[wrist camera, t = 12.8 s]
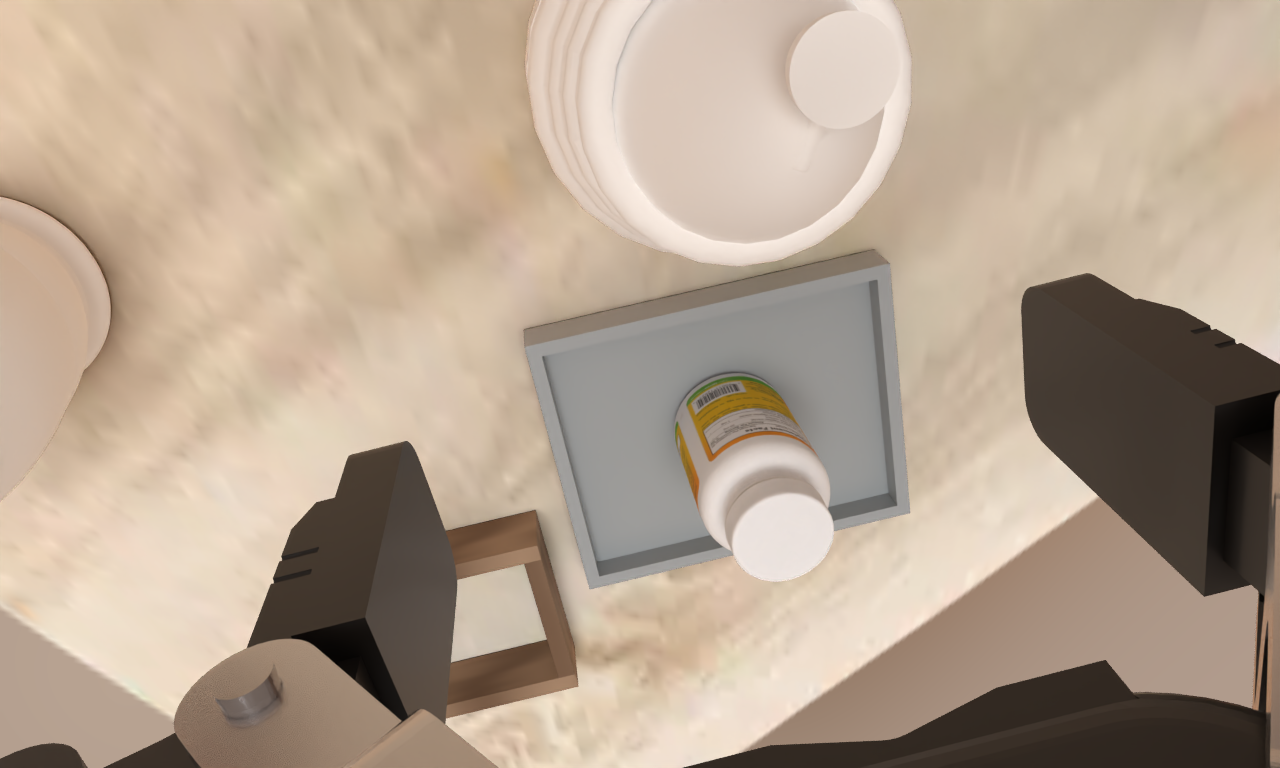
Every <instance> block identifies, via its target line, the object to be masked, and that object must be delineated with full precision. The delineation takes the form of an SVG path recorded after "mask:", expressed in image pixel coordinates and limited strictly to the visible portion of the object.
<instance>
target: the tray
mask: <svg viewBox="0 0 1280 768" xmlns="http://www.w3.org/2000/svg"><path fill="white" fill-rule="evenodd" d="M524 346H525V351H526V354H527V358H528V362H529V365H530V369H531V373H532V377H533V380H534V384H535V388H536V391H537V395H538V399H539V403H540V406H541V410H542V414H543V417H544V421H545V425H546V429H547V432H548V436H549V440H550V444H551V447H552V451H553V455H554V458H555V462H556V466H557V470H558V473H559V477H560V481H561V484H562V488H563V492H564V496H565V499H566V503H567V507H568V510H569V514H570V518H571V522H572V525H573V529H574V533H575V536H576V540H577V544H578V548H579V551H580V555H581V559H582V563H583V566H584V570H585V574H586V577H587V581H588V585H589V589H594V588H598V587H602V586H606V585H610V584H615V583H619V582H623V581H627V580H631V579H636V578H640V577H644V576H648V575H652V574H656V573H661V572H665V571H669V570H673V569H677V568H682V567H686V566H690V565H694V564H698V563H703V562H707V561H711V560H715V559H719V558H724V557H728V556H732V555H733V553H732V551H730V550H728V549H726V548H725V547H723V546H722V545H720V544H719V543H718V542H717V541H716V540H714V538H713V537H712V536H711V535H710V533H709V532H708V530H707V529H706V527H705V525H704V523H703V520H702V518H701V516H700V513H699V511H698V508H697V505H696V502H695V499H694V496H693V493H692V490H691V487H690V484H689V481H688V478H687V475H686V472H685V469H684V466H683V463H682V461H681V458H680V455H679V452H678V449H677V446H676V442H675V437H674V424H675V418H676V415H677V412H678V409H679V407H680V405H681V403H682V402H683V400H684V399H685V398H686V396H687V395H688V394H689V393H690V392H691V391H692V390H693V389H694V388H695V387H697V386H698V385H699V384H701V383H703V382H704V381H706V380H708V379H710V378H713V377H716V376H719V375H723V374H731V373H742V374H748V375H752V376H755V377H758V378H760V379H762V380H764V381H765V382H767V383H768V384H770V385H771V386H772V387H773V388H774V389H775V390H776V391H777V392H778V393H779V395H780V396H781V398H782V399H783V400H784V402H785V403H786V405H787V407H788V408H789V410H790V412H791V413H792V415H793V417H794V418H795V420H796V422H797V423H798V425H799V426H800V428H801V430H802V431H803V433H804V435H805V436H806V438H807V440H808V441H809V443H810V445H811V446H812V448H813V449H814V451H815V452H816V454H817V456H818V457H819V459H820V461H821V462H822V464H823V466H824V468H825V470H826V472H827V475H828V478H829V483H830V502H829V506H828V510H829V512H830V514H831V516H832V519H833V524H834V531H837V530H841V529H845V528H850V527H854V526H858V525H862V524H866V523H871V522H875V521H879V520H883V519H887V518H892V517H896V516H900V515H904V514H908V513H910V504H909V492H908V480H907V468H906V455H905V443H904V431H903V419H902V406H901V394H900V382H899V370H898V358H897V345H896V333H895V321H894V309H893V296H892V284H891V272H890V263H889V262H888V261H886V260H885V259H884V258H883V257H882V256H880V255H879V254H878V253H877V252H876V251H875V250H870V251H866V252H862V253H857V254H853V255H849V256H844V257H840V258H835V259H831V260H827V261H822V262H818V263H814V264H809V265H805V266H800V267H796V268H792V269H787V270H783V271H779V272H774V273H770V274H765V275H761V276H757V277H752V278H748V279H744V280H739V281H735V282H730V283H726V284H722V285H717V286H713V287H709V288H704V289H700V290H695V291H691V292H687V293H682V294H678V295H674V296H669V297H665V298H660V299H656V300H652V301H647V302H643V303H639V304H634V305H630V306H625V307H621V308H617V309H612V310H608V311H604V312H599V313H595V314H590V315H586V316H582V317H577V318H573V319H569V320H564V321H560V322H556V323H551V324H547V325H542V326H538V327H534V328H529V329H525V330H524Z"/></svg>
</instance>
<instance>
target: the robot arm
mask: <svg viewBox="0 0 1280 768" xmlns="http://www.w3.org/2000/svg"><path fill="white" fill-rule="evenodd" d="M1021 314H1022V337H1023V361H1024V384H1025V401H1026V407H1027V411H1028V414H1029V418H1030V421H1031V423H1032V426H1033V428H1034V430H1035V432H1036V433H1037V435H1038V437H1039V438H1040V440H1041V441H1042V442H1043V443H1044V444H1045V445H1046V446H1047V447H1048V448H1049V449H1050V450H1051V451H1052V452H1053V453H1054V454H1055V455H1056V456H1057V457H1058V458H1059V459H1060V460H1061V461H1063V462H1064V463H1065V464H1066V465H1067V466H1068V467H1069V468H1070V469H1071V470H1072V471H1073V472H1074V473H1075V474H1076V475H1077V476H1078V477H1079V478H1080V479H1081V480H1082V481H1083V482H1085V483H1086V484H1087V485H1088V486H1089V487H1090V488H1091V489H1092V490H1093V491H1094V492H1095V493H1096V494H1097V495H1098V496H1099V497H1100V498H1101V499H1102V500H1103V501H1104V502H1106V503H1107V504H1108V505H1109V506H1110V507H1111V508H1112V509H1113V510H1114V511H1115V512H1116V513H1117V514H1118V515H1119V516H1120V517H1121V518H1122V519H1123V520H1124V521H1125V522H1126V523H1127V524H1129V525H1130V526H1131V527H1132V528H1133V529H1134V530H1135V531H1136V532H1137V533H1138V534H1139V535H1140V536H1141V537H1142V538H1143V539H1144V540H1145V541H1146V542H1147V543H1148V544H1149V545H1151V546H1152V547H1153V548H1154V549H1155V550H1156V551H1157V552H1158V553H1159V554H1160V555H1161V556H1162V557H1163V558H1164V559H1165V560H1166V561H1167V562H1168V563H1169V564H1170V565H1172V566H1173V567H1174V568H1175V569H1176V570H1177V571H1178V572H1179V573H1180V574H1181V575H1182V576H1183V577H1184V578H1185V579H1186V580H1187V581H1189V583H1190V584H1191V585H1192V586H1193V587H1195V588H1196V589H1197V590H1198V591H1199V592H1200V593H1201V594H1202V595H1203V596H1204V597H1205V596H1209V595H1213V594H1217V593H1221V592H1225V591H1228V590H1233V589H1237V588H1240V587H1244V586H1248V585H1252V586H1253V587H1254V588H1256V589H1257V590H1258V601H1257V613H1256V631H1255V654H1254V655H1255V656H1254V678H1253V701H1252V702H1253V703H1252V709H1251V708H1248V707H1244V706H1241V705H1238V704H1233V703H1228V702H1224V701H1219V700H1215V699H1210V698H1205V697H1197V696H1189V695H1182V694H1172V693H1152V692H1138V693H1137V692H1136V693H1132V692H1131V691H1130V689H1129V688H1128V687H1127V686H1126V684H1125V683H1124V682H1123V681H1122V680H1121V678H1120V677H1119V676H1118V675H1117V673H1116V672H1115V671H1114V670H1113V669H1112V667H1111V666H1110V665H1109V664H1108V663H1107V661H1106V660H1104V661H1099V662H1096V663H1092V664H1088V665H1084V666H1080V667H1076V668H1072V669H1068V670H1064V671H1060V672H1056V673H1052V674H1049V675H1045V676H1041V677H1037V678H1033V679H1029V680H1025V681H1021V682H1017V683H1013V684H1009V685H1005V686H1002V687H998V688H995V689H993V690H991V691H990V692H987V693H986V694H984V695H982V696H980V697H978V698H976V699H974V700H972V701H970V702H968V703H966V704H964V705H962V706H960V707H958V708H956V709H954V710H953V711H951V712H949V713H947V714H945V715H943V716H941V717H939V718H937V719H935V720H933V721H931V722H929V723H927V724H925V725H923V726H922V727H920V728H918V729H916V730H914V731H912V732H910V733H908V734H906V735H904V736H901V737H899V738H896V739H891V740H883V741H863V742H839V743H815V744H792V745H770V746H767V747H762V748H758V749H755V750H751V751H747V752H743V753H739V754H735V755H731V756H727V757H723V758H719V759H715V760H711V761H707V762H704V763H700V764H696V765H692V766H688V767H684V768H1280V364H1278V363H1276V362H1274V361H1273V360H1271V359H1269V358H1267V357H1266V356H1264V355H1262V354H1260V353H1258V352H1257V351H1255V350H1253V349H1251V348H1249V347H1248V346H1246V345H1244V344H1242V343H1239V344H1236V343H1235V339H1233V338H1231V337H1230V336H1228V335H1226V334H1224V333H1222V332H1221V331H1219V330H1217V329H1214V330H1211V328H1210V325H1208V324H1206V323H1204V322H1203V321H1201V320H1199V319H1197V318H1196V317H1194V316H1192V315H1190V314H1188V313H1187V312H1185V311H1183V310H1181V309H1178V308H1174V307H1170V306H1166V305H1162V304H1158V303H1154V302H1150V301H1146V300H1142V299H1134V298H1132V297H1130V296H1129V295H1127V294H1125V293H1124V292H1122V291H1120V290H1118V289H1117V288H1115V287H1113V286H1112V285H1110V284H1108V283H1106V282H1105V281H1103V280H1101V279H1100V278H1098V277H1096V276H1094V275H1092V274H1089V273H1085V274H1081V275H1077V276H1073V277H1069V278H1065V279H1061V280H1057V281H1053V282H1049V283H1045V284H1041V285H1037V286H1033V287H1029V288H1028V289H1027V290H1026V291H1025V293H1024V295H1023V299H1022V306H1021ZM281 557H282V561H280V562H279V564H278V567H277V569H276V572H275V575H274V577H273V580H274V584H271V585H270V588H269V590H268V593H267V596H266V598H265V601H264V604H263V606H262V609H261V612H260V614H259V617H258V620H257V622H256V625H255V628H254V630H253V633H252V636H251V638H250V641H249V644H248V646H247V649H244V650H242V651H240V652H238V653H236V654H234V655H232V656H231V657H229V658H227V659H225V660H224V661H222V662H221V663H219V664H218V665H216V666H215V667H213V668H212V669H211V670H209V671H208V672H207V673H206V674H205V675H204V676H202V677H201V678H200V679H199V680H198V681H197V682H196V683H195V684H194V685H193V686H192V687H191V689H190V690H189V691H188V692H187V694H186V695H185V696H184V698H183V700H182V701H181V703H180V705H179V706H178V709H177V712H176V714H175V719H174V729H175V733H174V734H172V735H170V736H169V737H166V738H165V739H163V740H161V741H159V742H157V743H155V744H153V745H150V746H148V747H147V748H144V749H142V750H140V751H138V752H136V753H134V754H131V755H129V756H127V757H125V758H123V759H121V760H119V761H117V762H115V763H113V764H110V765H108V766H106V767H104V768H498V767H497V766H496V765H494V764H493V763H492V762H491V761H490V760H488V759H487V758H486V757H485V756H483V755H482V754H481V753H480V752H478V751H477V750H476V749H475V748H474V747H472V746H471V745H470V744H469V743H467V742H466V741H465V740H464V739H463V738H461V737H460V736H459V735H458V734H456V733H455V732H454V731H453V730H451V729H450V728H449V727H448V726H447V725H445V721H446V710H447V698H448V687H449V676H450V664H451V653H452V642H453V630H454V619H455V607H456V596H457V575H456V568H455V562H454V557H453V553H452V549H451V546H450V543H449V540H448V537H447V534H446V531H445V529H444V526H443V523H442V521H441V518H440V515H439V512H438V510H437V507H436V504H435V502H434V499H433V496H432V493H431V491H430V488H429V485H428V483H427V480H426V477H425V475H424V472H423V469H422V466H421V464H420V461H419V459H418V456H417V454H416V452H415V450H414V448H413V446H412V445H411V444H410V443H409V442H408V441H405V442H401V443H397V444H393V445H389V446H385V447H381V448H377V449H373V450H369V451H364V452H360V453H356V454H352V455H350V456H349V457H348V459H347V462H346V465H345V468H344V471H343V474H342V477H341V480H340V483H339V486H338V490H337V493H336V496H335V498H332V499H328V500H324V501H320V502H316V503H315V504H314V506H313V507H312V508H311V509H310V510H309V511H308V512H307V513H306V514H305V515H304V516H303V518H302V519H301V520H300V521H299V522H298V523H297V524H296V525H295V526H294V527H293V528H292V529H291V532H290V535H289V537H288V540H287V543H286V545H285V548H284V551H283V553H282V556H281ZM0 768H87V766H86V765H85V763H84V761H83V760H82V759H81V757H80V755H79V754H78V752H77V751H76V750H75V749H73V748H72V747H70V746H68V745H64V744H55V743H51V744H41V745H37V746H33V747H29V748H26V749H23V750H20V751H17V752H14V753H12V754H10V755H8V756H5V757H3V758H1V759H0Z"/></svg>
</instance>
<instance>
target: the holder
mask: <svg viewBox="0 0 1280 768" xmlns="http://www.w3.org/2000/svg"><path fill="white" fill-rule="evenodd" d="M446 534H447V537H448V540H449V543H450V546H451V549H452V553H453V557H454V562H455V568H456V575H457V580H458V579H462V578H466V577H470V576H475V575H479V574H483V573H487V572H491V571H496V570H500V569H504V568H508V567H513V566H517V565H521V564H525V568H526V571H527V574H528V578H529V581H530V584H531V588H532V591H533V594H534V598H535V601H536V604H537V607H538V611H539V614H540V617H541V621H542V624H543V627H544V631H545V634H546V637H547V640H546V641H542V642H537V643H533V644H529V645H525V646H521V647H517V648H512V649H508V650H504V651H500V652H496V653H491V654H487V655H483V656H479V657H475V658H471V659H466V660H462V661H458V662H454V663H451V664H450V676H449V687H448V698H447V710H446V718H450V717H454V716H458V715H462V714H466V713H471V712H475V711H479V710H483V709H487V708H491V707H495V706H500V705H504V704H508V703H512V702H516V701H520V700H524V699H529V698H533V697H537V696H541V695H545V694H549V693H553V692H558V691H562V690H566V689H570V688H574V687H578V678H577V668H576V658H575V647H574V643H573V640H572V636H571V633H570V629H569V626H568V622H567V619H566V615H565V612H564V608H563V605H562V601H561V598H560V594H559V591H558V587H557V584H556V580H555V577H554V573H553V570H552V566H551V563H550V560H549V556H548V553H547V549H546V546H545V542H544V539H543V535H542V532H541V528H540V525H539V521H538V518H537V514H536V511H535V510H534V511H530V512H526V513H522V514H517V515H513V516H509V517H505V518H500V519H496V520H492V521H488V522H483V523H479V524H475V525H471V526H466V527H462V528H458V529H454V530H449V531H446Z"/></svg>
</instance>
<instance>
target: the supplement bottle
mask: <svg viewBox="0 0 1280 768" xmlns="http://www.w3.org/2000/svg"><path fill="white" fill-rule="evenodd" d="M674 437H675V442H676V446H677V449H678V452H679V455H680V458H681V461H682V463H683V466H684V469H685V472H686V475H687V478H688V481H689V484H690V487H691V490H692V493H693V496H694V499H695V502H696V505H697V508H698V511H699V513H700V516H701V518H702V520H703V523H704V525H705V527H706V529H707V530H708V532H709V533H710V535H711V536H712V537H713V538H714V540H716V541H717V542H718V543H719V544H720V545H722V546H723V547H725V548H726V549H728V550H730V551H732V553H733V556H734V558H735V560H736V562H737V563H738V565H739V566H740V567H741V568H742V569H743V570H744V571H745V572H747V573H748V574H750V575H751V576H753V577H755V578H757V579H761V580H765V581H772V582H779V581H786V580H791V579H794V578H797V577H800V576H802V575H804V574H806V573H807V572H809V571H811V570H812V569H813V568H814V567H816V566H817V565H818V564H819V563H820V562H821V561H822V560H823V558H824V557H825V556H826V554H827V553H828V551H829V549H830V547H831V544H832V541H833V537H834V524H833V519H832V516H831V514H830V512H829V510H828V506H829V502H830V483H829V478H828V475H827V472H826V470H825V468H824V466H823V464H822V462H821V461H820V459H819V457H818V456H817V454H816V452H815V451H814V449H813V448H812V446H811V445H810V443H809V441H808V440H807V438H806V436H805V435H804V433H803V431H802V430H801V428H800V426H799V425H798V423H797V422H796V420H795V418H794V417H793V415H792V413H791V412H790V410H789V408H788V407H787V405H786V403H785V402H784V400H783V399H782V398H781V396H780V395H779V393H778V392H777V391H776V390H775V389H774V388H773V387H772V386H771V385H770V384H768V383H767V382H765V381H764V380H762V379H760V378H758V377H755V376H752V375H748V374H742V373H731V374H723V375H719V376H716V377H713V378H710V379H708V380H706V381H704V382H703V383H701V384H699V385H698V386H697V387H695V388H694V389H693V390H692V391H691V392H690V393H689V394H688V395H687V396H686V398H685V399H684V400H683V402H682V403H681V405H680V407H679V409H678V412H677V415H676V418H675V424H674Z"/></svg>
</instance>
